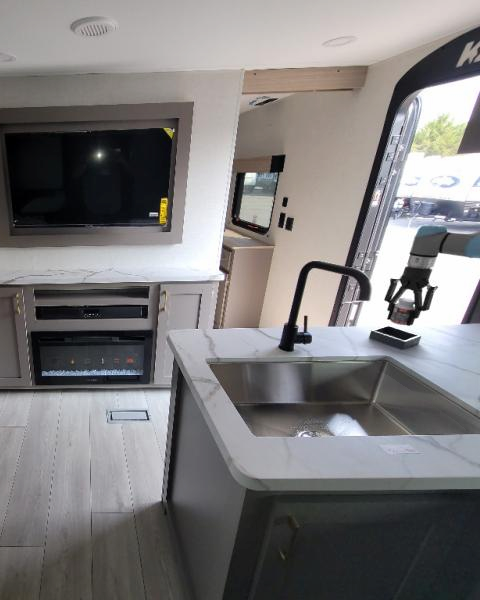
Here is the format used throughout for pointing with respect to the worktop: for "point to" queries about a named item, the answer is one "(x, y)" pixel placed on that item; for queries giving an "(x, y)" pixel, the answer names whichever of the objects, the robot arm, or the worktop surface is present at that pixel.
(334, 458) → the worktop surface
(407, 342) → the tray
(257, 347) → the worktop surface
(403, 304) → the pill bottle
